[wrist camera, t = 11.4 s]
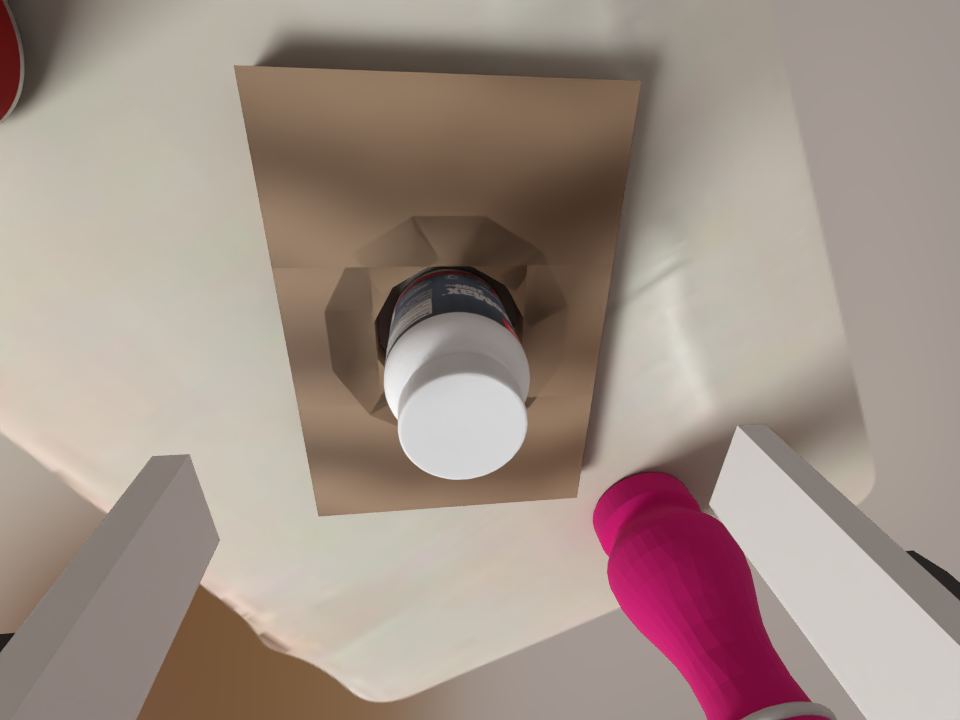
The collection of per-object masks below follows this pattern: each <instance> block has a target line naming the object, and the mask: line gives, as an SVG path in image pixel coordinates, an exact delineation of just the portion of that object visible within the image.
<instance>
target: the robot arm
mask: <svg viewBox="0 0 960 720" xmlns="http://www.w3.org/2000/svg"><path fill="white" fill-rule="evenodd" d="M709 505H710V507H711V508H712V509H713V511H714V512H715V513H716V515H717V516H718V517H719V519H720V520H721V521H722V523H723V524H724V526H725V527H726V528H727V530H728V531H729V532H730V534H731V535H732V536H733V538H734V539H735V541H736V542H737V543H738V545H739V546H740V547H741V549H742V550H743V551H744V553H745V554H746V556H747V557H748V558H749V560H750V561H751V562H752V564H753V565H754V566H755V568H756V569H757V571H758V572H759V573H760V575H761V576H762V577H763V579H764V580H765V581H766V583H767V584H768V585H769V587H770V588H771V590H772V591H773V592H774V593H775V595H776V596H777V598H778V599H779V600H780V602H781V603H782V605H783V606H784V607H785V609H786V610H787V611H788V613H789V614H790V615H791V617H792V618H793V620H794V621H795V622H796V623H797V625H798V626H799V628H800V629H801V630H802V631H803V633H804V634H805V636H806V637H807V639H808V640H809V641H810V643H811V644H812V645H813V647H814V648H815V649H816V651H817V652H818V654H819V655H820V656H821V657H822V659H823V660H824V662H825V663H826V665H827V666H828V667H829V669H830V670H831V671H832V673H833V674H834V675H835V677H836V678H837V679H838V681H839V682H840V683H841V685H842V686H843V688H844V689H845V690H846V692H847V693H848V694H849V696H850V697H851V699H852V700H853V701H854V703H855V704H856V705H857V707H858V708H859V709H860V711H861V712H862V713H863V715H864V716H865V718H866V719H867V720H960V582H958V581H957V580H956V579H955V578H954V577H953V576H951V575H950V574H949V573H948V572H947V571H945V570H943V569H942V568H940V567H939V566H937V565H935V564H934V563H932V562H930V561H929V560H927V559H925V558H924V557H923V556H921V555H919V554H918V553H916V552H915V551H904V550H903V549H902V548H901V547H900V546H899V545H898V544H897V543H896V542H894V541H893V540H892V539H891V538H890V537H889V536H888V535H887V534H886V533H885V532H883V531H882V530H881V529H880V528H879V527H878V526H877V525H876V524H875V523H873V522H872V521H871V520H870V519H869V518H868V517H867V516H866V515H865V514H864V513H863V512H861V511H860V510H859V509H858V508H857V507H856V506H855V505H854V504H853V503H852V502H850V501H849V500H848V499H847V498H846V497H845V496H844V495H843V494H842V493H840V492H839V491H838V490H837V489H836V488H835V487H834V486H833V485H832V484H831V483H829V482H828V481H827V480H826V479H825V478H824V477H823V476H822V475H821V474H820V473H818V472H817V471H816V470H815V469H814V468H813V467H812V466H811V465H810V464H809V463H807V462H806V461H805V460H804V459H803V458H802V457H801V456H800V455H799V454H798V453H796V452H795V451H794V450H793V449H792V448H791V447H790V446H789V445H788V444H787V443H785V442H784V441H783V440H782V439H781V438H780V437H779V436H778V435H777V434H775V433H774V432H773V431H772V430H771V429H770V428H769V427H768V426H767V425H766V424H756V425H737V428H736V431H735V433H734V436H733V439H732V442H731V444H730V447H729V450H728V453H727V456H726V458H725V461H724V464H723V467H722V469H721V472H720V475H719V478H718V480H717V483H716V486H715V489H714V492H713V494H712V497H711V500H710V503H709ZM219 541H220V539H219V536H218V534H217V531H216V528H215V525H214V522H213V519H212V517H211V514H210V511H209V508H208V505H207V503H206V500H205V497H204V494H203V491H202V489H201V486H200V483H199V480H198V477H197V475H196V472H195V469H194V466H193V463H192V460H191V458H190V455H189V454H187V455H168V456H152V457H151V459H150V460H149V461H148V463H147V464H146V465H145V467H144V468H143V469H142V470H141V472H140V473H139V474H138V476H137V477H136V478H135V479H134V481H133V482H132V483H131V485H130V486H129V487H128V488H127V490H126V491H125V492H124V494H123V495H122V496H121V497H120V499H119V500H118V501H117V503H116V504H115V505H114V507H113V508H112V509H111V510H110V512H109V513H108V514H107V516H106V517H105V518H104V519H103V521H102V522H101V523H100V525H99V526H98V527H97V528H96V530H95V531H94V532H93V534H92V535H91V536H90V538H89V539H88V540H87V541H86V543H85V544H84V545H83V547H82V548H81V549H80V550H79V552H78V553H77V554H76V556H75V557H74V558H73V559H72V561H71V562H70V563H69V565H68V566H67V567H66V569H65V570H64V571H63V572H62V574H61V575H60V576H59V577H58V579H57V580H56V581H55V583H54V584H53V585H52V587H51V588H50V589H49V590H48V592H47V593H46V594H45V596H44V597H43V598H42V599H41V601H40V602H39V603H38V605H37V606H36V607H35V609H34V610H33V611H32V613H31V614H30V615H29V616H28V617H27V619H26V620H25V622H24V623H23V624H22V625H21V627H20V628H19V629H18V630H17V632H16V633H9V634H0V720H136V718H137V716H138V714H139V712H140V710H141V708H142V706H143V703H144V701H145V699H146V697H147V695H148V693H149V691H150V688H151V686H152V684H153V682H154V680H155V678H156V675H157V673H158V671H159V669H160V667H161V665H162V663H163V660H164V658H165V656H166V654H167V652H168V650H169V648H170V646H171V643H172V641H173V639H174V637H175V635H176V633H177V631H178V628H179V626H180V624H181V622H182V620H183V618H184V616H185V613H186V611H187V609H188V607H189V605H190V603H191V601H192V598H193V596H194V594H195V592H196V590H197V588H198V586H199V583H200V581H201V579H202V577H203V575H204V573H205V571H206V568H207V566H208V564H209V562H210V560H211V558H212V556H213V553H214V551H215V549H216V547H217V545H218V543H219Z"/></svg>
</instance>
